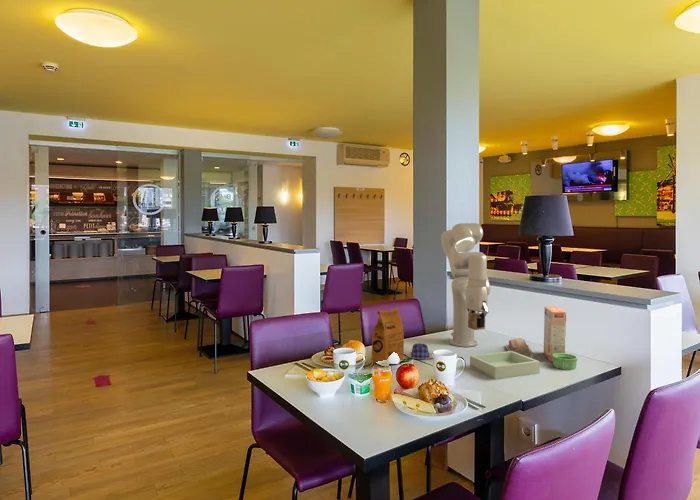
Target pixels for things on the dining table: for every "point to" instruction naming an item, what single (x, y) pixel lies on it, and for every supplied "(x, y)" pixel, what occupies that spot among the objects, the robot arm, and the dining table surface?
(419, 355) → the purple plaid hat
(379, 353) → the coffee package
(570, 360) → the ramekin
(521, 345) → the packaged product
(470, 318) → the walnut block
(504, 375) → the bin
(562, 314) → the cracker box
